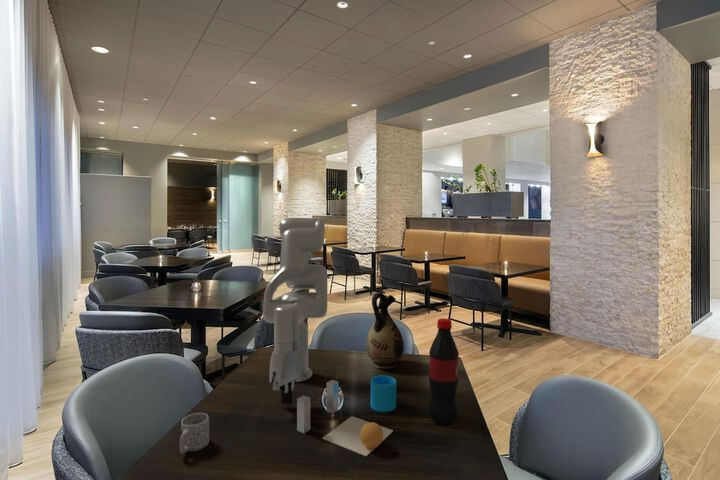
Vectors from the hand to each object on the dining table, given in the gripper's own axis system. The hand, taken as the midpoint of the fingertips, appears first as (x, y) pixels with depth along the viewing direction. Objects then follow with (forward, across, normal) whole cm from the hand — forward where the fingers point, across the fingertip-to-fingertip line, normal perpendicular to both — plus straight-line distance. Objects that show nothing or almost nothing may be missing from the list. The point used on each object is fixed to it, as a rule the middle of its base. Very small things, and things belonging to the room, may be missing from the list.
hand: (286, 403), depth 120 cm
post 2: (+2, -6, +13) cm, 15 cm away
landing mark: (+2, 0, +27) cm, 27 cm away
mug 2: (+2, -20, +23) cm, 31 cm away
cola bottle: (+2, -21, +43) cm, 48 cm away
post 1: (+2, +7, +13) cm, 15 cm away
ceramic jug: (+2, -48, +7) cm, 49 cm away
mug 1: (+2, +29, -5) cm, 29 cm away
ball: (-2, +2, +33) cm, 33 cm away
